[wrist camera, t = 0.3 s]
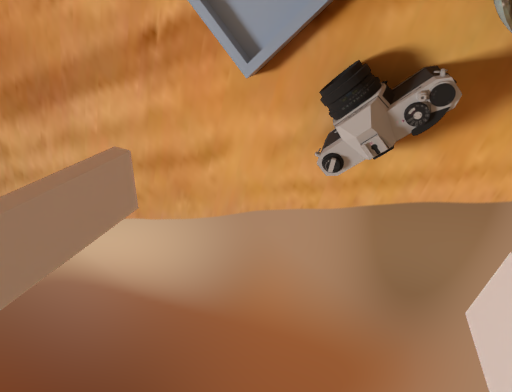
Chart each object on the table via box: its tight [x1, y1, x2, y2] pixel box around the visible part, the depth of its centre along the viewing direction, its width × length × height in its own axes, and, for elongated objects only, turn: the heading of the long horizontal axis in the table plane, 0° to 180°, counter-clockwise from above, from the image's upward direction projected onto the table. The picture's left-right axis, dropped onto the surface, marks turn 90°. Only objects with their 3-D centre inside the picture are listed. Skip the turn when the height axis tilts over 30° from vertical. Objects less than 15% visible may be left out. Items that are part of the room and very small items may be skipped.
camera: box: [315, 60, 462, 176], centre depth 27 cm, size 13×8×9 cm, turn 137°
